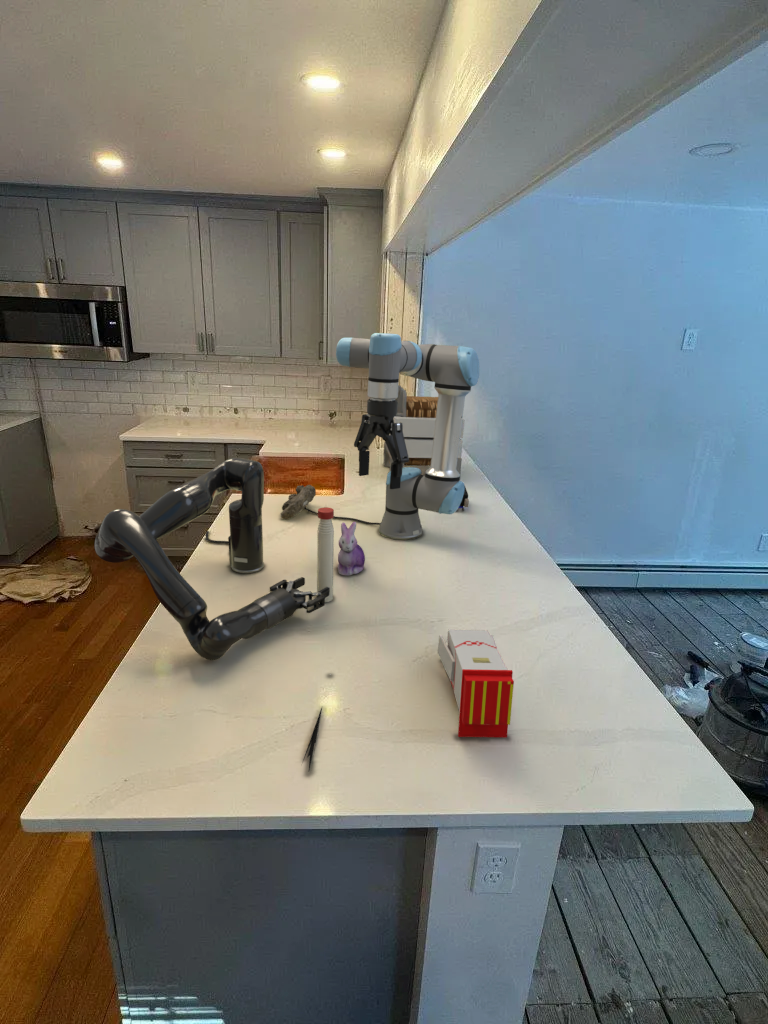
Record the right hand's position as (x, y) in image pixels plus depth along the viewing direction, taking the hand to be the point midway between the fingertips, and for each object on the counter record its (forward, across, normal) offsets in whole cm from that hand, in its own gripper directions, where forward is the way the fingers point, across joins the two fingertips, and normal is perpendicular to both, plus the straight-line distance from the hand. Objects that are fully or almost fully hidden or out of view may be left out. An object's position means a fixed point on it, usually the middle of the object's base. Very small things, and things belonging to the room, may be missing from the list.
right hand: (378, 481), depth 147 cm
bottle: (+32, +5, +13) cm, 35 cm away
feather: (+33, -36, +39) cm, 62 cm away
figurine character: (+31, +41, -72) cm, 89 cm away
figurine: (+32, +16, -3) cm, 36 cm away
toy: (+33, -46, +8) cm, 57 cm away
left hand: (+27, +3, +16) cm, 32 cm away
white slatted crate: (+31, +87, -91) cm, 130 cm away
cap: (+7, +5, +13) cm, 16 cm away
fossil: (+32, +69, -15) cm, 77 cm away
